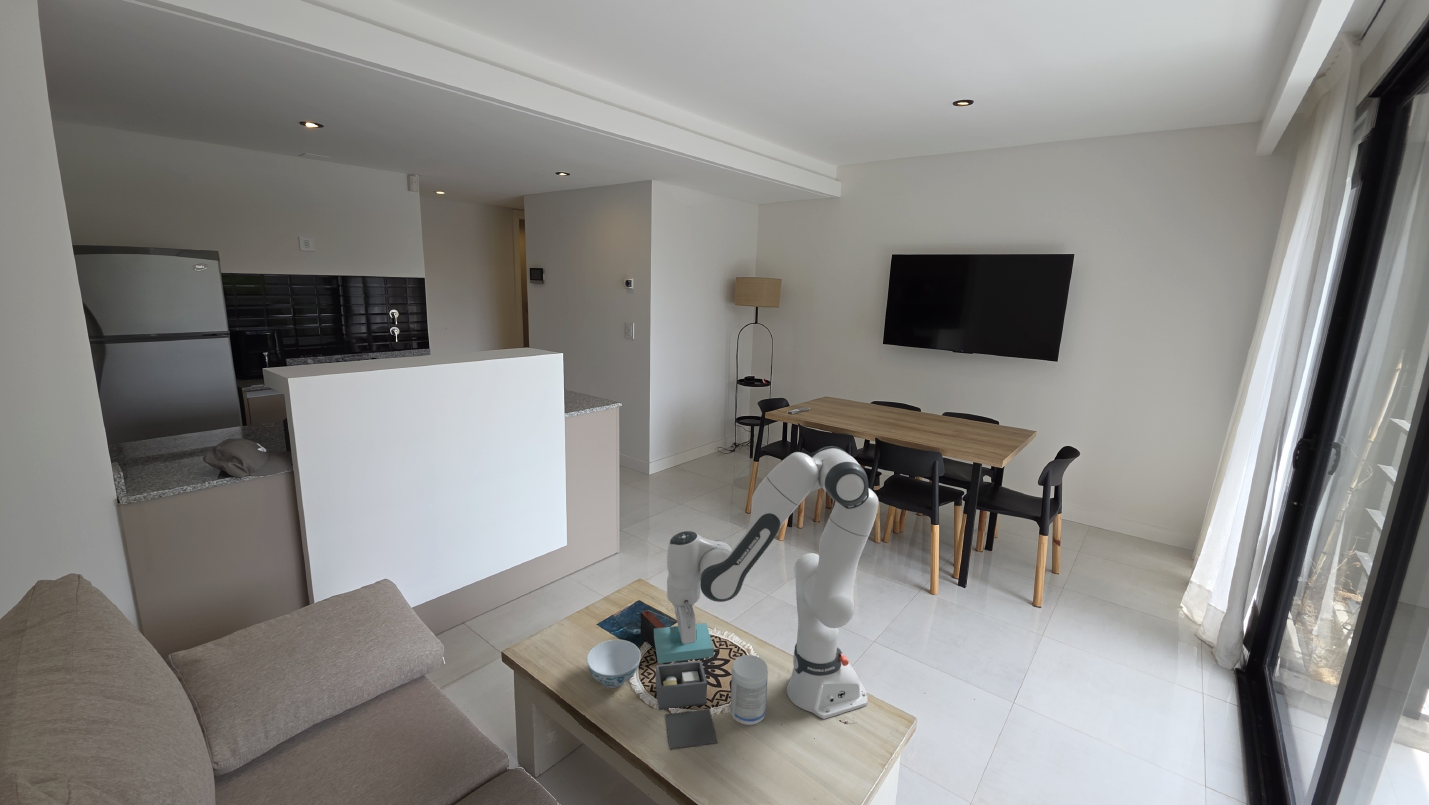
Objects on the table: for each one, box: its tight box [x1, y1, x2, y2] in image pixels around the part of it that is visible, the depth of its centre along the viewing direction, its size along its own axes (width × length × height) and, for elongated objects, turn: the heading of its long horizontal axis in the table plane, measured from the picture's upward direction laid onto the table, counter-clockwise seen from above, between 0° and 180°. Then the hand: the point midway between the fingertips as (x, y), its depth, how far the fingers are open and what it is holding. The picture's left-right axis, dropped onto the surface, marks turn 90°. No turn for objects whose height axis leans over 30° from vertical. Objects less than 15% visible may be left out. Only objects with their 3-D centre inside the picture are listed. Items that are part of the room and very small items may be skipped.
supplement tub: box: [729, 654, 769, 726], centre depth 152 cm, size 10×10×15 cm
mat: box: [665, 708, 719, 750], centre depth 147 cm, size 12×11×1 cm
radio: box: [640, 609, 677, 664], centre depth 175 cm, size 19×3×15 cm, turn 37°
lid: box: [654, 622, 715, 664], centre depth 154 cm, size 15×11×6 cm
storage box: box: [655, 660, 708, 711], centre depth 158 cm, size 13×9×7 cm
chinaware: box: [586, 639, 642, 689], centre depth 163 cm, size 15×15×8 cm
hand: (683, 636), depth 154 cm, fingers closed on lid, 2 cm apart
